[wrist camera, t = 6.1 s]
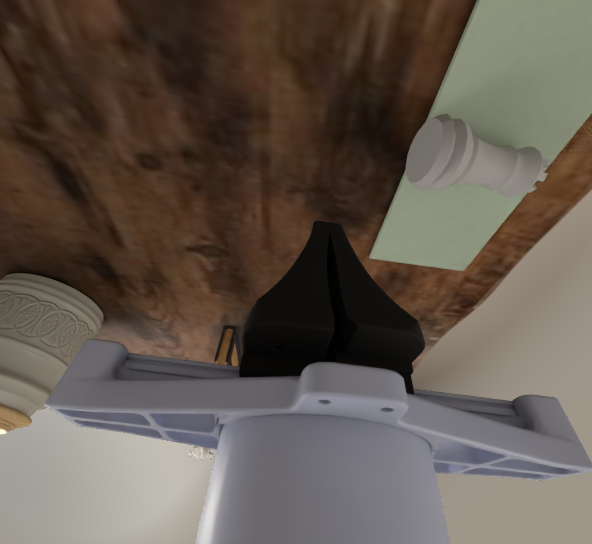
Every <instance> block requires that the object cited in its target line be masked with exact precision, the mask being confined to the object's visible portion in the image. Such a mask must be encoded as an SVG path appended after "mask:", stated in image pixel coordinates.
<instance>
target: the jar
mask: <svg viewBox="0 0 592 544" xmlns="http://www.w3.org/2000/svg"><path fill="white" fill-rule="evenodd" d="M103 320H104V316H103V313H102V311H101V310H100V308H99V307H98V306H97V305H96V304H95V303H94V302H93V301H92V300H91V299H90V298H88V297H87V296H85V295H84V294H82V293H81V292H79V291H78V290H76V289H74V288H72V287H70V286H68V285H66V284H63V283H61V282H58V281H56V280H53V279H50V278H47V277H43V276H39V275H34V274H26V273H14V274H9V275H6V276H5V277H3V278H2V279H1V280H0V434H6V433H8V432H10V431H11V430H15V429H18V428H22V427H26V426H29V425H30V424H31V422H32V420H31V418H30V416H31V415H32V414H33V413H34V412H36V411H37V410H41V409H45V408H48V407H46V406H45V402H46V400H47V399H48V397H49V396H50V394H51V393H52V391H53V390H54V388H55V387H56V385H57V384H58V382H59V381H60V379H61V378H62V376H63V374H64V373H65V371H66V370H67V368H68V367H69V365H70V364H71V362H72V361H73V359H74V358H75V356H76V355H77V353H78V352H79V350H80V349H81V347H82V346H83V344H84V343H85V341H86V340H87V339H94V338H95V337H96V336H97V333H98V332H99V331H100V329H101V324H102V322H103Z"/></svg>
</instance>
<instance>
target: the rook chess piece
mask: <svg viewBox="0 0 592 544" xmlns="http://www.w3.org/2000/svg"><path fill="white" fill-rule="evenodd" d="M548 166H549V164H548V160H547V159H542V156H541V153H540V151H539V150H538V149H536V148H535V147H524V148H521V149H519V150H516V149H515V148H514V147H513V146H503V147H498V146H495V145H492V144H490V143H488V142H486V141H483V140H481V139H479V138H478V137H477V134H476V133H475V132H473V131H472V130H471V128H470V126H469V125H468V124H466V123H465V122H464V121H463V120H461V119H452V118H451V117H450V116H449V115H448V114H442V115H438V116H436V117H434V118H432V119H430V120H429V121H427V122H426V123H425V124H423V126H422V127H421V128H420V130H419V131H418V132H417V134H416V136H415V138H414V140H413V142H412V144H411V146H410V149H409V152H408V155H407V161H406V176H407V178H408V180H409V181H410V183H411V184H412V185H413V187H415V188H418V189H422V188H426V189H429V190H432V191H433V190H439V189H442V188H445V187H447V186H448V187H450V186H453V185H456V184H461V183H462V184H480V185H483V187H484V188H485V189H488V190H493V189H497V190H498V192H499V193H500V194H501V195H502V196H505V197H513V196H518V195H519V194H523V193H524V192H529V193H530V192H532V191H534V190H535V189H537V187H536V185H534V184H535V183H536V181H537V180H538V181H543V182H544V180H545V178H546V176H547V173H542V168H546V167H548Z"/></svg>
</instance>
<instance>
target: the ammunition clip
mask: <svg viewBox="0 0 592 544" xmlns="http://www.w3.org/2000/svg"><path fill="white" fill-rule="evenodd" d="M214 361H215V364H221V365H229V366H237V367H240V364H241V354H240V347H239V340H238V334H237V328H230V327H224V328H223V331H222V335H221V339H220V342H219V346H218V349H217V353H216V356H215V359H214Z"/></svg>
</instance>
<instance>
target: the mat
mask: <svg viewBox="0 0 592 544" xmlns="http://www.w3.org/2000/svg"><path fill="white" fill-rule="evenodd" d="M591 113H592V0H477V1H476V4H475V6H474V8H473V11H472V13H471V15H470V18H469V20H468V23H467V25H466V27H465V30H464V32H463V34H462V37H461V39H460V42H459V44H458V46H457V49H456V51H455V53H454V56H453V58H452V61H451V63H450V65H449V68H448V70H447V72H446V75H445V77H444V80H443V82H442V84H441V87H440V89H439V91H438V94H437V96H436V99H435V101H434V103H433V106H432V108H431V110H430V113H429V115H428V118H427V120H426V122H427V121H429V120H430V119H432V118H434V117H436V116H438V115H442V114H448V115H449V116H450V117H451V118H452V119H461V120H463V121H464V122H465V123H466V124H468V125H469V126H470V128H471V130H472V131H473V132H475V133H476V134H477V137H478V138H479V139H481V140H483V141H486V142H488V143H490V144H492V145H495V146H498V147H503V146H513V147H514V148H515V149H516V150H519V149H521V148H524V147H535V148H536V149H538V150H539V151H540V153H541V156H542V159H547V160H548V164H549V165H550V164H551V163H552V161H553V160H554V159H555V158H556V156H557V155H558V154H559V153H560V152H561V150H562V149H563V148H564V147H565V145H566V144H567V143H568V142H569V140H570V139H571V138H572V137H573V135H574V134H575V133H576V132H577V131H578V129H579V128H580V127H581V126H582V124H583V123H584V122H585V121H586V119H587V118H588V117H589V116H590V115H591ZM426 122H425V123H426ZM547 168H548V167H546V168H542V173H544V171H545V170H546V169H547ZM526 193H527V192H524V193H523V194H519V195H518V196H513V197H505V196H502V195H501V194H500V193H499V192H498V190H497V189H493V190H488V189H485V188H484V187H483V185H480V184H462V183H461V184H456V185H453V186H450V187H448V186H447V187H445V188H442V189H439V190H433V191H432V190H429V189H426V188H422V189H418V188H415V187H413V185H412V184H411V183H410V181H409V180H408V178H407V176H406V170H405V172H404V175H403V177H402V179H401V182H400V184H399V186H398V189H397V191H396V194H395V196H394V198H393V201H392V203H391V205H390V208H389V210H388V213H387V215H386V217H385V220H384V222H383V224H382V227H381V229H380V232H379V234H378V236H377V239H376V241H375V243H374V246H373V248H372V251H371V253H370V255H369V257H370V258H371V259H378V260H385V261H393V262H400V263H408V264H415V265H422V266H430V267H437V268H444V269H452V270H459V271H464V270H465V269H466V268H467V266H468V265H469V264H470V263H471V261H472V260H473V259H474V258H475V256H476V255H477V254H478V253H479V251H480V250H481V249H482V248H483V247H484V245H485V244H486V243H487V242H488V240H489V239H490V238H491V237H492V235H493V234H494V233H495V232H496V231H497V229H498V228H499V227H500V226H501V224H502V223H503V222H504V221H505V219H506V218H507V217H508V216H509V214H510V213H511V212H512V211H513V210H514V208H515V207H516V206H517V205H518V203H519V202H520V201H521V200H522V198H523V197H524V196H525V195H526Z"/></svg>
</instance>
